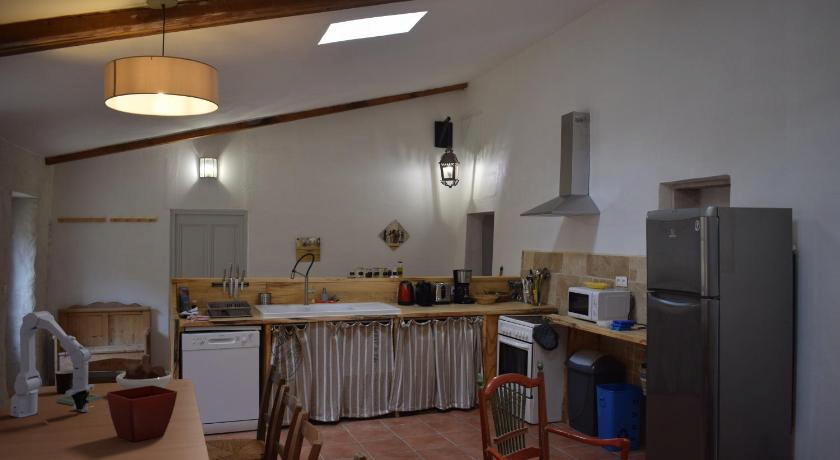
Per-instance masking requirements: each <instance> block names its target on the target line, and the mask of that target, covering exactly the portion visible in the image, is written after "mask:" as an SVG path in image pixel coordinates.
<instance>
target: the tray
mask: <svg viewBox="0 0 840 460" xmlns="http://www.w3.org/2000/svg"><path fill="white" fill-rule="evenodd" d="M101 399H102V396H101V395H99V394H92V393H89V395H88V396H87V398H86V400H89V403H92V402H97V401H101ZM58 403H60V404H64V405H70V406H74V405H75V402H74V401H73V398H72V396H66V395H65V396H61V397H56V404H58Z"/></svg>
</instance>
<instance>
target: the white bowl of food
mask: <svg viewBox="0 0 840 460" xmlns="http://www.w3.org/2000/svg"><path fill="white" fill-rule="evenodd" d="M171 378H172V373H171V372H170V371H167V370H166V369H165V366H164V365H157V366H152V365H151V364H150V363H144V364H143V363H142V364H138V366H137V367H135V368H133V369H125V372H123V373H120V374H117V375H116V377H115V381H116V383H117V385H119V387H121V390H124V389H131V388H137V387H144V386H150V385H154V386H158V387H162V388H165V387H166V385H167V384H168V383H169V382H170V380H171Z"/></svg>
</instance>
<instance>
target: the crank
mask: <svg viewBox="0 0 840 460" xmlns="http://www.w3.org/2000/svg"><path fill="white" fill-rule="evenodd" d="M89 403H90V402H89V400H86V401H85V404H84V407H83V409H82V410H77V409H76V405H73V407H72V408H73V410H72V411H75V412H76V411H79V412H82V413H86V412H89V408H88V407H89V406H88V405H89Z"/></svg>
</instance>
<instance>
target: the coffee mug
mask: <svg viewBox="0 0 840 460" xmlns="http://www.w3.org/2000/svg"><path fill="white" fill-rule="evenodd" d="M54 375H55V384H56V386H55V387H56V392H57V394H59V395H66V391H68V390H70V389H72V388H73V369H72V370H69V369H68V370H58V371H55V372H54Z"/></svg>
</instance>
